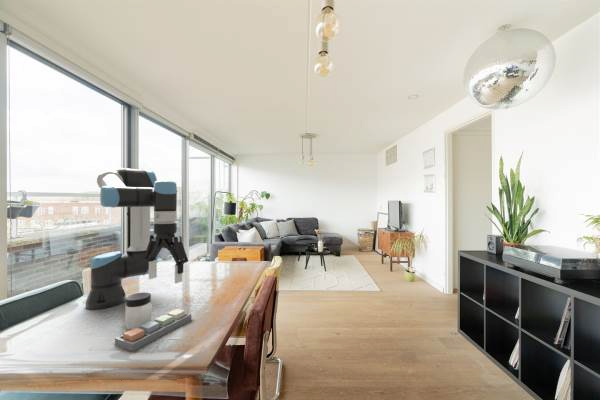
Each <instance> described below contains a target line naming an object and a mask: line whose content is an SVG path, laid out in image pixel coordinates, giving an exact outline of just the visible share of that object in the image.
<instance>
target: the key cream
mask: <svg viewBox="0 0 600 400" xmlns="http://www.w3.org/2000/svg"><path fill="white" fill-rule="evenodd" d="M185 313H186V312H185V310H183V309H179V308H176V309H174V310H172V311H170V312H168V313H167V314H168V315H169V316H173V319H175V320H177V319H179V318H181V317H183V316H185Z"/></svg>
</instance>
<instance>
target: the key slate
mask: <svg viewBox="0 0 600 400" xmlns="http://www.w3.org/2000/svg"><path fill="white" fill-rule="evenodd" d="M140 329H142V330H144V332H145V333H148V334H150V333H152V332H154V331H156V330H158V329H159V323H158V322H154V320H152V321H150V322H147V323H145V324H143V325H141V326H140Z"/></svg>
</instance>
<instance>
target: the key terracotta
mask: <svg viewBox="0 0 600 400" xmlns="http://www.w3.org/2000/svg"><path fill="white" fill-rule="evenodd" d="M122 335H123V339H124V340H127V341H130V342H134V341H136V340H138V339H140V338H142V337H144V330H142V329H139V328H134V329H129V330H128V331H126V332H123V333H122Z"/></svg>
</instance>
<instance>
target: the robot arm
mask: <svg viewBox="0 0 600 400" xmlns="http://www.w3.org/2000/svg"><path fill="white" fill-rule="evenodd" d="M96 183H97V186H98V187H99V189H100V190H99V191H100V193H99V195H100V196H99V198H100V199H99V200H100V205H101V206H102V207H103V208H130V237H129V238H130V239H129V240H130V242H129V243H130V245H129V247H128V248H127V249H126V253H122V251H110V252H106V253H102V254H98V255H95V256H94V257H92V259H91V261H90V290H89V293H88V296H87V297H86V301H85V309H87V310H100V309H107V308H112V307H115V306H118V305H120V304H123V303H124V302H126V298H127V295H126V291H125V290H124V287H123V285H122V281H123V280H122V279H125V278H134V277H138V276H145V275H148V280H152V279H155V278H157V276H158V275H157V273H158V272H157V270H158V268H157V267H158V255H160V254H159V253H160V252H161V250H162V249H166V250H168V252H169V254H170V255H171V257H172V258H173V260H174V262H175V264H174V284H179V283H182V282H183V273H184V264H185V263H189V259H188V255H187V253H186V250H185V247H184V244H183V239H182V238H183V237H182V236H180V235H179V236H175V235H176V233H177V231H178V230H177V227H178V225H177V223H176V222H177V221H178V213H177V212H178V211H177V207H178V206H177V205H178V202H177V201H178V189H177V188H178V186H177V183H176V181H172V180H171V181H169V180H158V179H157V176H156V174H155V172H154V171H153V170H150V169H144V168H143V169H142V168H141V169H140V168H126V167H125V168H124V167H113V168H109V169H106V170H103V171H102V172H100V173H99V174H98V176H97V178H96ZM151 207H152V208H153V211H154V212H153V222H154V224H153V233H154V234H151Z"/></svg>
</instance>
